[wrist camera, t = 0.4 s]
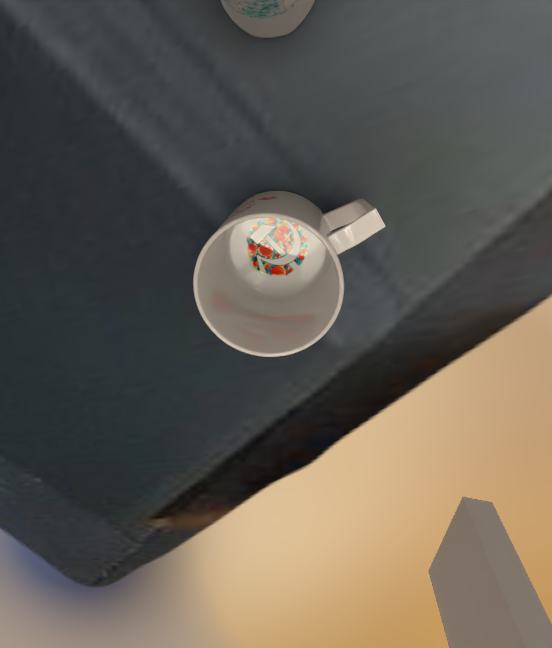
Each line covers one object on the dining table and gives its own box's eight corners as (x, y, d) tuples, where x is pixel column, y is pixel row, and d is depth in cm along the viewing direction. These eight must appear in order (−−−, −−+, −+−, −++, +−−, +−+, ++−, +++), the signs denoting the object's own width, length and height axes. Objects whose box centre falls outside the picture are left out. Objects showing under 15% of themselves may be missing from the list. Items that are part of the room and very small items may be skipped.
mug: (261, 315, 40) (245, 380, 30) (202, 226, 37) (162, 264, 27) (388, 244, 37) (420, 289, 27) (334, 142, 34) (346, 148, 24)
